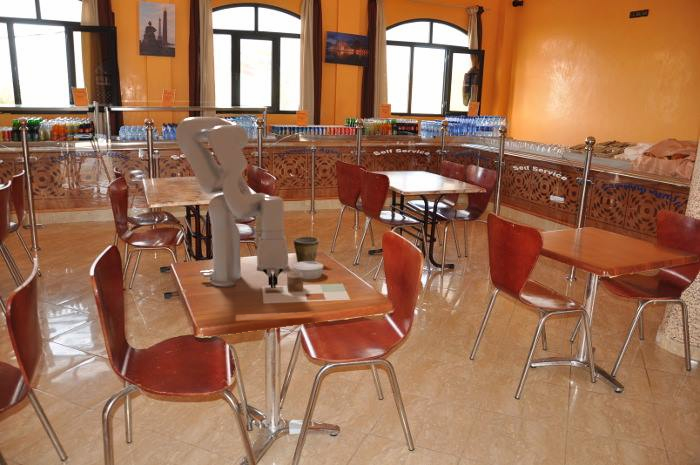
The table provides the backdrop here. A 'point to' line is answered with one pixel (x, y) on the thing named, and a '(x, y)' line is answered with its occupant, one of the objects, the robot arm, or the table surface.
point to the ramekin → (308, 269)
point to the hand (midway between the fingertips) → (273, 286)
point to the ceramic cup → (306, 248)
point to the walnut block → (295, 282)
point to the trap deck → (329, 291)
